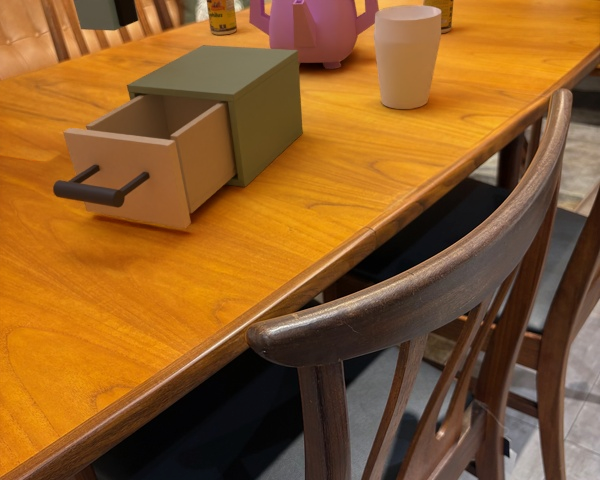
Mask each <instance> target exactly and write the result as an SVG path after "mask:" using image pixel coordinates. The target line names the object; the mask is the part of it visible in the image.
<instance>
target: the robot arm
mask: <svg viewBox="0 0 600 480" xmlns="http://www.w3.org/2000/svg"><path fill="white" fill-rule="evenodd" d="M114 2H115V7H116V11H117V16H118V20H119V25H120V26H124V27H127V26H129V25H132V24H134V23H136V22H139V21H138V19H139V16H138V17H137V14H138V12H137V13H136V9H137V7H136V8H135V4H136V2H135V3H134V0H114Z"/></svg>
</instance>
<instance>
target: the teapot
mask: <svg viewBox="0 0 600 480" xmlns="http://www.w3.org/2000/svg"><path fill="white" fill-rule="evenodd" d="M265 5H266V4H265V0H249V18H248V19H249V20H248V23H249V24H251V25H252V26H254V27H255V28H257V30H259V31H261V32H263V33H264V34H266V35H267V36H268V41H269V49H283V50H298V62H299V67H300V66H301V63H303V64H311V63H312V64H315V63H317V64H318V63H319V64H320V63H321V64H322V65H323V68H324V67H325V68H324V69H330V70H331V69H332V70H333V69H338V68H340V67H342V64H341V61H344V60H345V59H347V58H348V57H349V56H350V55H351V54H352V53H353V51H354V49H355V46H356V43H357V40H358V37H359V35H361V34H362V33H363V32H365V31H366V30H368V29H369V28H370V27H373V25H375V13H376V12H377V11H379V10H380V7H379V0H364V12H363V13H360V15H358V12H357V7H356V6H357V5H356V1H355V0H271V6H270V11H269V12H270V13H269V14H267V13H266V10H265V7H266V6H265Z"/></svg>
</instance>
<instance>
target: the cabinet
mask: <svg viewBox="0 0 600 480" xmlns="http://www.w3.org/2000/svg"><path fill="white" fill-rule="evenodd" d="M300 80H301V79H300V66H299V62H298V50H283V49H270V48H265V47H264V48H263V47H247V46H246V47H245V46H243V47H242V46H227V45H207V44H202V45H200V46H199V47H196V48H195V49H193V50H191V51H189V52H187V53H185V54H183V55H182V56H179V57H178V58H176V59H174V60H172V61H170V62H168V63H166V64H164V65H162V66H160V67H159V68H157V69H154V70H153V71H151V72H149V73H147V74H144V76H141V77H139V78H138V79H135V80H134V81H132V82H129V83H128V84H126V88H127V92H128V96H129V101H130V100H132V99H134V98H136V97H138V96H139V95H141V94H143V93H144V94H155V95H166V96H177V97H188V98H198V99H209V100H220V101H228V106H229V113H230V121H231V128H232V136H233V143H234V151H235V158H236V166H237V174H236V175H234V176H233V177H232V178H231V179H230V180H229V181H228V182H227V183H225V184H224V185H227V186H233V187H241V188H246V187H247V186H248V185H249V184H251V182H252V181H253V180H255V179H256V178H257V177H258V176H259V175H260V174H261V173H262V172H263V171H264V170H265V169H266V168H268V167H269V165H271V164H272V163H273V161H275V160H276V159H277V158H278V157H279V156H280V155H281V154H283V152H284V151H285V150H286V149H288V148H289V147H290V146H291V145H292V144H293V143H294V142H295V141H296V140H297V139H298V138H300V136H302V134H304V129H303V114H302V113H303V111H302V98H301V95H302V94H301V81H300Z"/></svg>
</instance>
